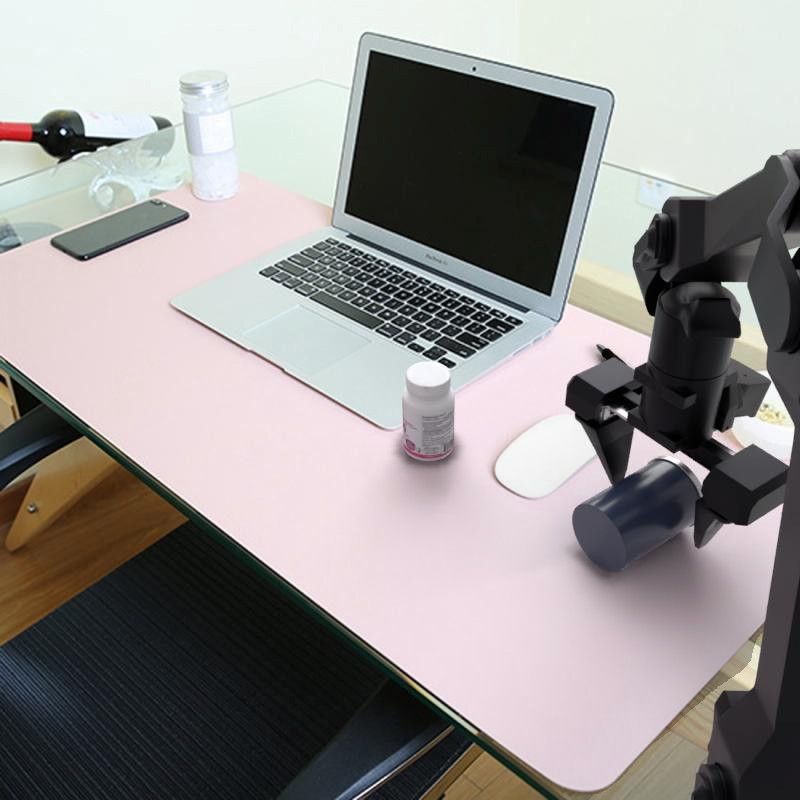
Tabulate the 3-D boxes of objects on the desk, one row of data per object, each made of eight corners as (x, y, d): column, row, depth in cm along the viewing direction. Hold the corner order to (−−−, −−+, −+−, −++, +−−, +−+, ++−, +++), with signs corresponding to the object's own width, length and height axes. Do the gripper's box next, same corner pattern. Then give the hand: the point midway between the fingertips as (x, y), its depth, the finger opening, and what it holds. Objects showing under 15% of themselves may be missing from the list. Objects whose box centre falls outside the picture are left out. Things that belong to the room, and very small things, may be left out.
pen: (686, 419, 92) (688, 410, 91) (672, 424, 91) (674, 414, 91) (605, 347, 102) (606, 338, 102) (592, 350, 102) (593, 341, 101)
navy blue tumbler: (623, 589, 75) (701, 538, 79) (631, 532, 71) (713, 482, 75) (568, 542, 79) (644, 496, 83) (573, 487, 76) (653, 441, 79)
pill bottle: (396, 436, 91) (394, 363, 86) (443, 426, 92) (444, 354, 87) (412, 467, 87) (411, 393, 82) (461, 457, 88) (463, 383, 83)
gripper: (868, 379, 67) (814, 537, 77) (667, 275, 80) (642, 422, 89) (766, 438, 62) (722, 600, 72) (569, 317, 75) (553, 468, 84)
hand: (657, 513), depth 79 cm, fingers open, 9 cm apart
